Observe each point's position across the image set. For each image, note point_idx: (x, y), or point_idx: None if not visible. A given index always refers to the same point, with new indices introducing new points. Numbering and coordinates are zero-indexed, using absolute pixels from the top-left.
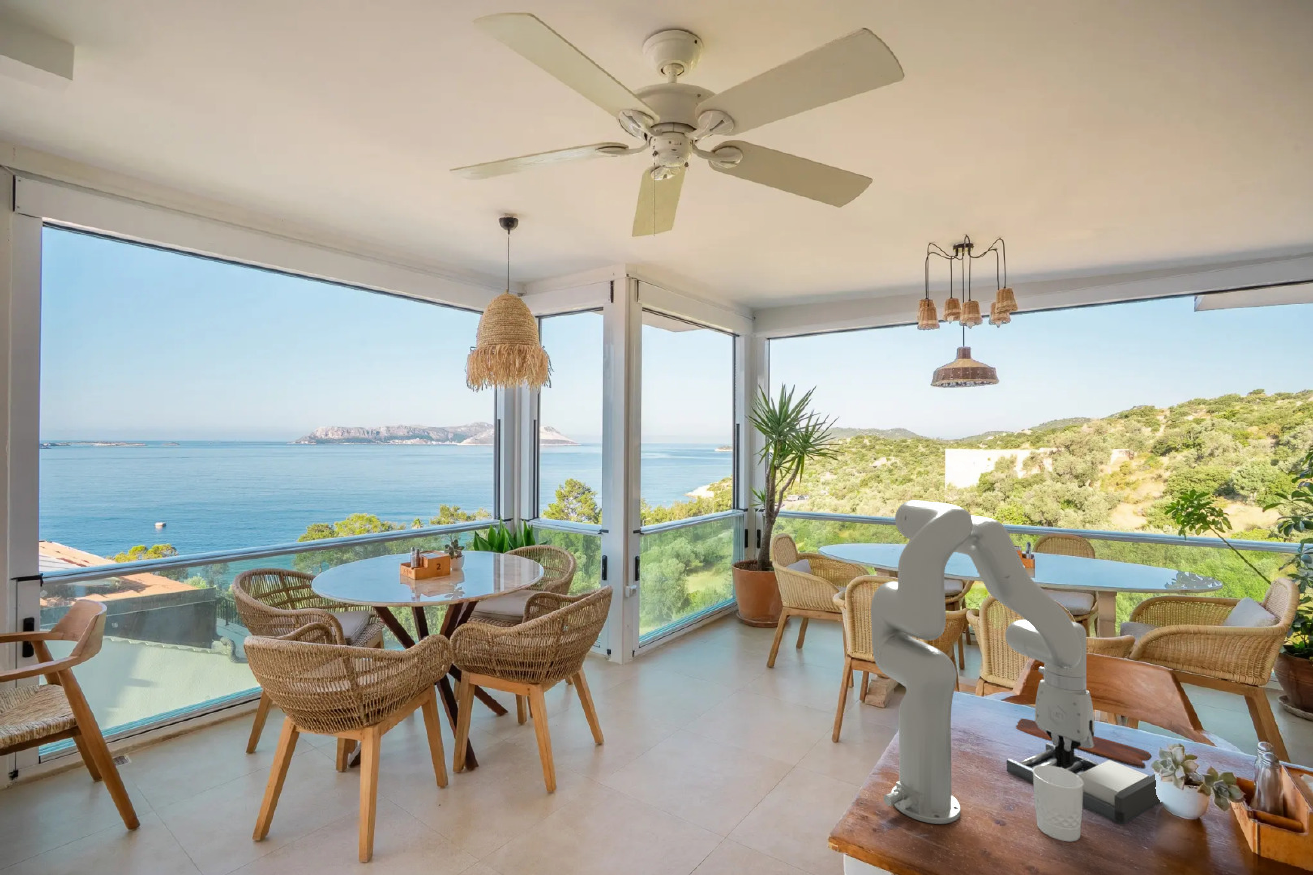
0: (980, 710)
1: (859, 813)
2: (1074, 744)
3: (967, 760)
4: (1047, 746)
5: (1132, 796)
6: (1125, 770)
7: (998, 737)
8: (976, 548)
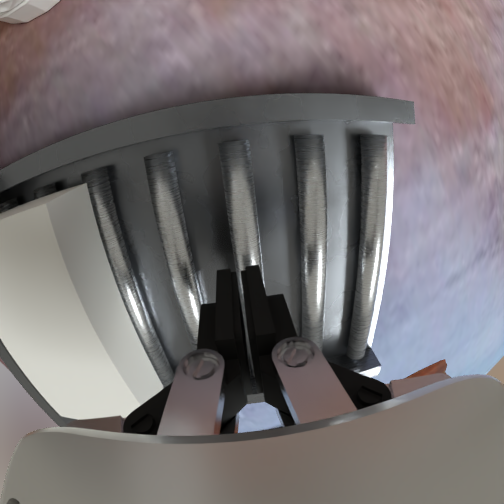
0: (495, 340)
1: None
2: (158, 414)
3: (462, 65)
4: (372, 361)
5: None
6: (84, 404)
7: (469, 291)
8: None
